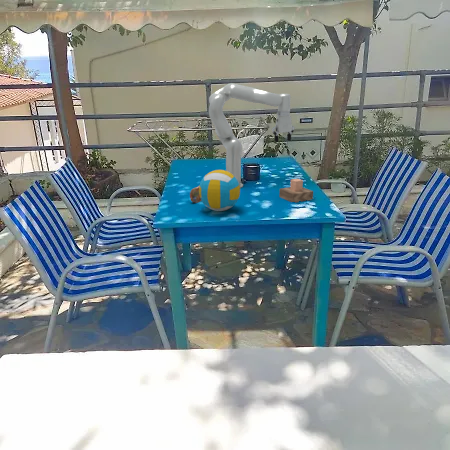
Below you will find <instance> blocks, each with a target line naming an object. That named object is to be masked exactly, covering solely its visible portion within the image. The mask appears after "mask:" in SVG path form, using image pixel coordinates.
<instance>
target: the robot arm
mask: <svg viewBox="0 0 450 450" xmlns="http://www.w3.org/2000/svg"><path fill="white" fill-rule="evenodd" d="M291 98H292V97H291V94H290V93H274V92H270V91H265V90H263V89H258V88H255V87H252V86H247V85H243V84H237V83H234V82H232V83H228V84H225V85H224V86H223V87H221V88H220V89H218V90H216V91H214V92H213V93H212V94H210V96H209V97H208V101H209V102H208V103H209V107H208V116H209V119H210V120H211V122H212V124H213V126H214V132H215V135H217V137H218V139H219V141H220V142H221V144H222V146H223V147H224V148H225V150H226V155H225V168H226V169H225V171H228V172H230V173H231V174H232V175H234V177H235V178H236V179H237V180H238V183H239V185H240V189H241V188H243V187H244V184H243V183H242V181H241V180H242V176H241V175H242V169H241V168H242V149H243V148H242V147H243V146H242V142H241V141H240V139H239V138H237V137H236V136H235V134H234V133H233V127H232V126H231V125H230V123H229V122H228V121H229V120H227V118H226V116H225V114H224V112H223V110H224V109H223V108H224V105H225V103H226V102H227V101H229V100H231V99H235V100H241V101H245V102H249V103H255V104H263V105H266V106H271V107H277V112H275V113H276V115H277V116H276V120H275V125H274V127H272V128H271V132H272V134H273V135H274V142H275V143H278V142H279V134H280V133H287V135H286V136H287V138H286V139H287V141H289V142H290V141H291V140H292V134H293V133H294V131H295V128H296V127H295V126H294V125H293V124H292V123H293V122H292V116H291V113H290V112H291Z"/></svg>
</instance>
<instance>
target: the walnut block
mask: <svg viewBox="0 0 450 450" xmlns="http://www.w3.org/2000/svg"><path fill="white" fill-rule="evenodd" d="M279 198H281V199H284V200H286V201H288V202H290V203H292V202H295V203H300V202H299V201H301V202H306V200H307V201H312V200H311V199H313V200H314V191H313V190H311V189H308V188H306V187H302V191H293V190H290V186H289V187H284V188H283V187H282V188H279Z"/></svg>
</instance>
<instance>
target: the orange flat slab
mask: <svg viewBox="0 0 450 450" xmlns="http://www.w3.org/2000/svg"><path fill="white" fill-rule="evenodd" d="M199 186H200V185H198V186H197V187H194V188H192V189H191V190H190V192H189V198H190V201H191V202H192V203H195V204H197V203H200V202H202V200H201V198H200V195H199Z"/></svg>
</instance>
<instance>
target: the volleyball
mask: <svg viewBox="0 0 450 450" xmlns="http://www.w3.org/2000/svg"><path fill="white" fill-rule="evenodd" d="M198 186H199V195H200V198H201V200H202V201H201V202H202V203H203V205H204V206H205V207H207V208H208V209H210V210H212V211H215V212H222V211H223V212H224V211H227V210H229V209H232V208H233V206H235V205H236V204H237V203H238V200H239V198H240V195H241V188H240V185H239V183H238V180H237V179H236V178H235V177H234V175H232V174H231V173H230V172H228V171H226V169H225V170H224V169H215V170H212V171H209V172H208V173H207V174H205V175H204V176H203V177H202V179H201V180H200V184H199V185H198Z"/></svg>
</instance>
